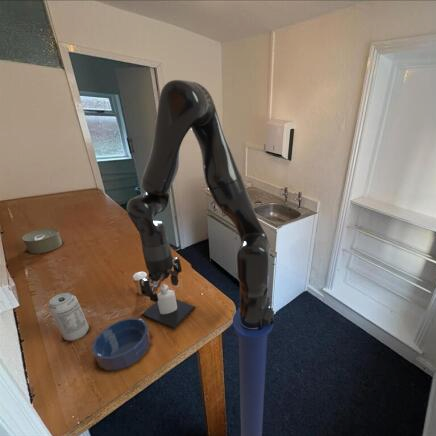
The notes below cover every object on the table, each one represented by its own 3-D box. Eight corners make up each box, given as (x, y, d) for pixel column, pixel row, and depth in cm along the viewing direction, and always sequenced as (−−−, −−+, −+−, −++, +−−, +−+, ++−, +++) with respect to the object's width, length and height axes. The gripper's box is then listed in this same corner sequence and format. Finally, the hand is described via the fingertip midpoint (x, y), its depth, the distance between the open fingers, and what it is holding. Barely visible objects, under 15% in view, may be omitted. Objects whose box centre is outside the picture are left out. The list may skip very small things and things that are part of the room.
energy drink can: (85, 322, 77) (70, 288, 71) (92, 332, 74) (77, 297, 68) (61, 334, 73) (43, 299, 66) (68, 345, 70) (50, 309, 63)
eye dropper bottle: (164, 304, 86) (158, 279, 80) (179, 306, 86) (174, 280, 81) (157, 314, 82) (151, 288, 77) (173, 315, 82) (168, 289, 77)
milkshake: (132, 296, 89) (126, 275, 85) (143, 287, 94) (138, 267, 89) (141, 299, 88) (136, 278, 84) (153, 289, 93) (148, 269, 89)
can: (65, 238, 120) (60, 226, 117) (60, 250, 111) (54, 237, 108) (32, 243, 114) (26, 231, 111) (24, 256, 105) (17, 243, 102)
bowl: (160, 338, 74) (157, 326, 72) (120, 378, 63) (115, 366, 61) (129, 324, 78) (125, 312, 76) (86, 360, 67) (80, 347, 64)
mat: (194, 307, 86) (194, 306, 86) (174, 329, 78) (173, 327, 78) (165, 296, 90) (164, 295, 90) (142, 315, 82) (141, 313, 81)
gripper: (147, 269, 66) (156, 310, 73) (183, 245, 78) (189, 282, 85) (127, 262, 68) (138, 303, 75) (166, 240, 80) (172, 277, 87)
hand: (165, 292), depth 80 cm, fingers open, 8 cm apart
